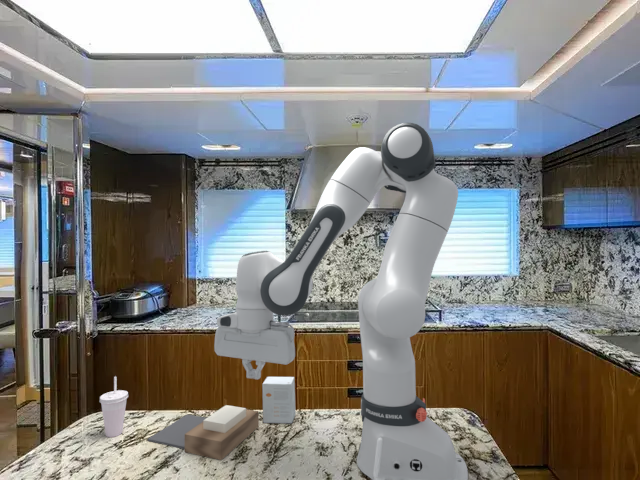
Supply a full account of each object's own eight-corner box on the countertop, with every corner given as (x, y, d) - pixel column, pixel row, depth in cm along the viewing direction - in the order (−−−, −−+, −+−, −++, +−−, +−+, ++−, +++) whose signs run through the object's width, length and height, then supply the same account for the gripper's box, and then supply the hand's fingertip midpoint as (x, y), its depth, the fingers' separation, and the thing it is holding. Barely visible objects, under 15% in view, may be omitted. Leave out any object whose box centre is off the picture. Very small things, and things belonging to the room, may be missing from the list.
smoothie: (133, 427, 97) (132, 373, 97) (120, 439, 90) (120, 381, 91) (108, 427, 96) (108, 373, 97) (93, 440, 90) (93, 382, 90)
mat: (223, 422, 98) (223, 420, 98) (187, 449, 85) (187, 447, 85) (187, 416, 103) (187, 414, 103) (147, 440, 90) (147, 438, 90)
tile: (246, 416, 93) (246, 408, 93) (225, 433, 85) (224, 424, 85) (226, 412, 95) (226, 405, 95) (203, 428, 87) (203, 420, 87)
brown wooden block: (258, 426, 96) (258, 411, 96) (221, 460, 81) (221, 441, 81) (226, 421, 99) (225, 406, 99) (184, 451, 84) (184, 434, 84)
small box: (295, 414, 103) (295, 376, 103) (292, 424, 97) (291, 383, 97) (267, 413, 104) (267, 375, 104) (262, 423, 98) (262, 383, 98)
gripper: (300, 320, 87) (299, 379, 87) (226, 314, 94) (225, 368, 94) (288, 325, 81) (287, 389, 81) (211, 318, 88) (209, 376, 88)
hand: (253, 378), depth 87 cm, fingers closed
